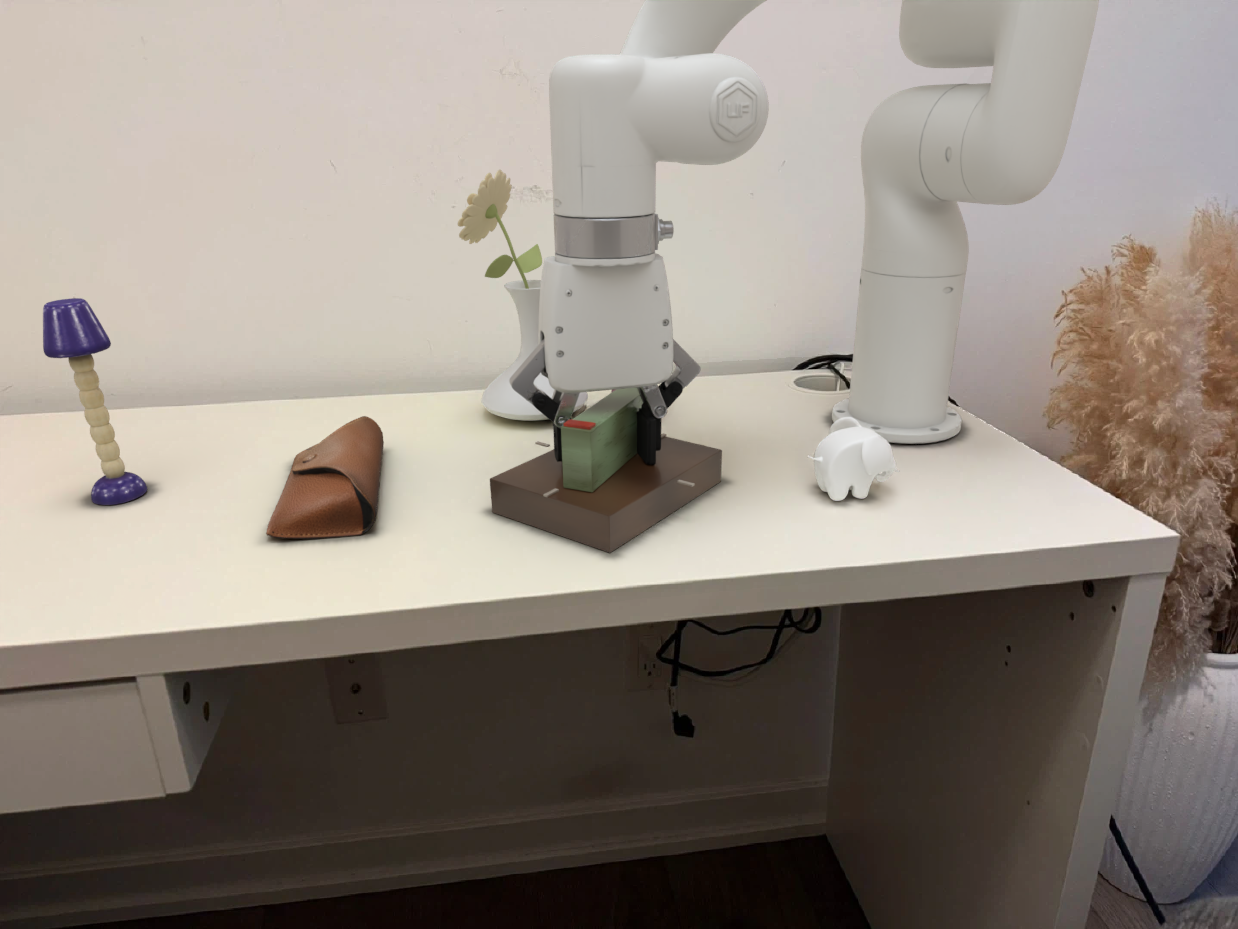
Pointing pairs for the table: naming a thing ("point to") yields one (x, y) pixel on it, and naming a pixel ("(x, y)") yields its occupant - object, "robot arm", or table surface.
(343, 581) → the table surface
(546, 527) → the base
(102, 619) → the table surface
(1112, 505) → the table surface
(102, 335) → the toy lamp
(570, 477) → the green rectangular block
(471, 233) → the flower in vase
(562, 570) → the table surface
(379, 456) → the sunglasses case
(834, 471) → the elephant figurine
